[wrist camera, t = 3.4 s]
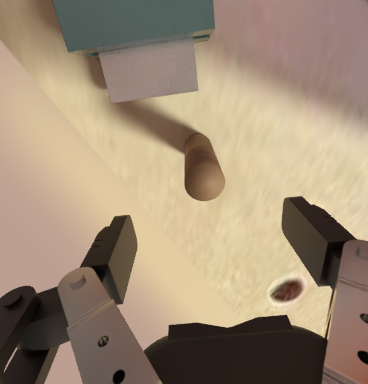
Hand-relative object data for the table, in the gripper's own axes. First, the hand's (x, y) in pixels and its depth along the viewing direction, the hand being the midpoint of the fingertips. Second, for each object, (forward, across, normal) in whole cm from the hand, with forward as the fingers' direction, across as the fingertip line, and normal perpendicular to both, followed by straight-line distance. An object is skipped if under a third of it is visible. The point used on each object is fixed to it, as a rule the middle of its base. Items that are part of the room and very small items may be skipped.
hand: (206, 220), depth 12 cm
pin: (+15, 0, 0) cm, 15 cm away
